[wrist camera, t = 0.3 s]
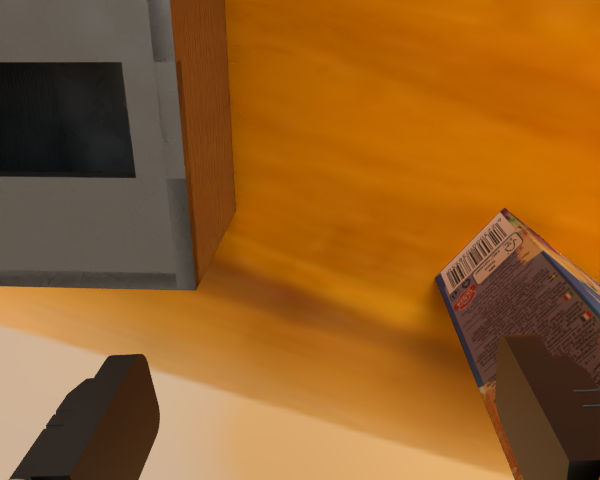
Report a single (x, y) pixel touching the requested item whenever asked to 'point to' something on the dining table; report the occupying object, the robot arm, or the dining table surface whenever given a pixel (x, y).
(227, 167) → the grey slotted box
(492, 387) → the blue tall cardboard box
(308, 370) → the dining table surface
